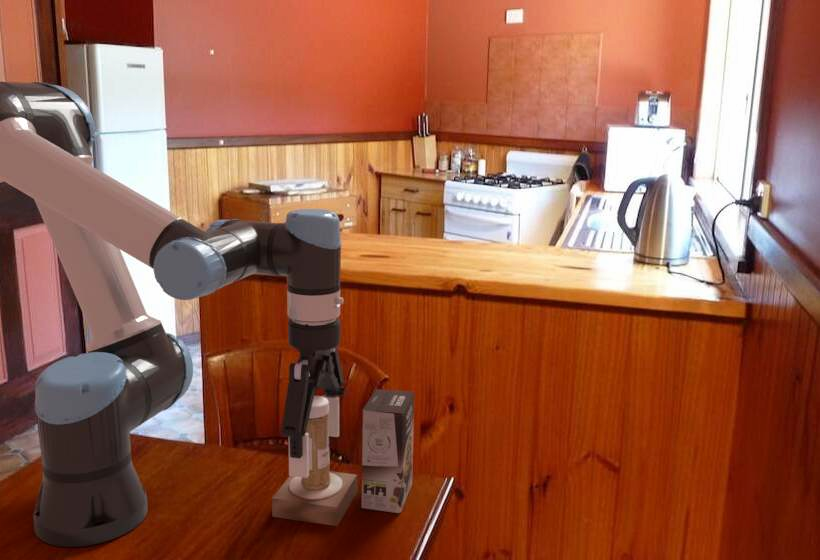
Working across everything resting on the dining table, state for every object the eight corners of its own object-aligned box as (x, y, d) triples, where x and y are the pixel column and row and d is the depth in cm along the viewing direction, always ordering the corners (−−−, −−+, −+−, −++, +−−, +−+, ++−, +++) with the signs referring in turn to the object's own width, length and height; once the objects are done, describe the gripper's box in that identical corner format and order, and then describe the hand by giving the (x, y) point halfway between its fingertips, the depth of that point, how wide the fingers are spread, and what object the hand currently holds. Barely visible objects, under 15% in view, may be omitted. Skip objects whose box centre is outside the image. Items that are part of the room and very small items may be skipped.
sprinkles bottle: (333, 488, 110) (331, 404, 107) (303, 493, 109) (300, 408, 105) (327, 474, 114) (325, 392, 111) (298, 478, 113) (295, 396, 110)
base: (272, 516, 108) (271, 495, 108) (297, 483, 118) (297, 464, 117) (337, 526, 106) (336, 504, 106) (357, 492, 116) (357, 472, 115)
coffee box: (401, 514, 110) (403, 413, 106) (360, 509, 111) (360, 409, 107) (413, 484, 118) (416, 390, 115) (375, 480, 120) (376, 387, 116)
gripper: (308, 347, 93) (310, 499, 98) (364, 299, 116) (363, 423, 121) (253, 341, 94) (257, 491, 99) (319, 295, 118) (320, 418, 123)
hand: (315, 454), depth 110 cm, fingers open, 13 cm apart
